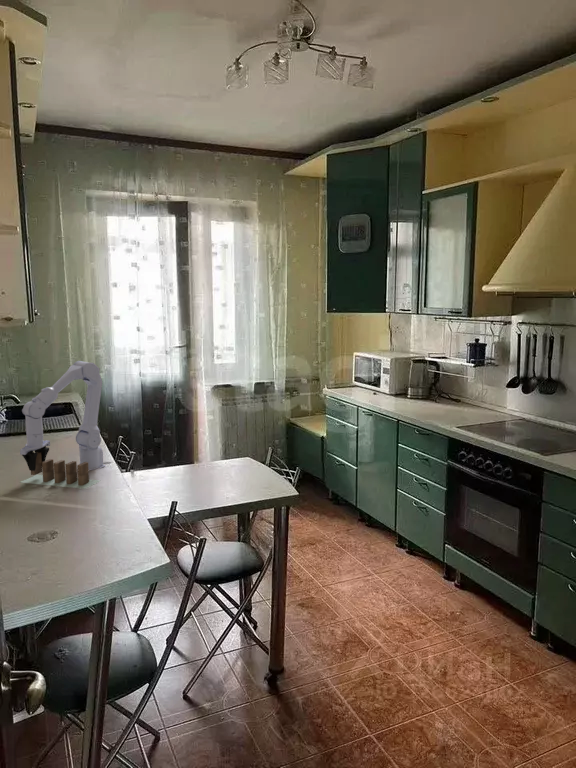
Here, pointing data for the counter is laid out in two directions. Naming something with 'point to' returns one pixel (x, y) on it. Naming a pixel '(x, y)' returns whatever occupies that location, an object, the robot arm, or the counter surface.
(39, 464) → the domino
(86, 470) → the domino end
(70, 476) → the domino
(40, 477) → the board
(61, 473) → the domino
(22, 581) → the counter surface
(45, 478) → the domino
